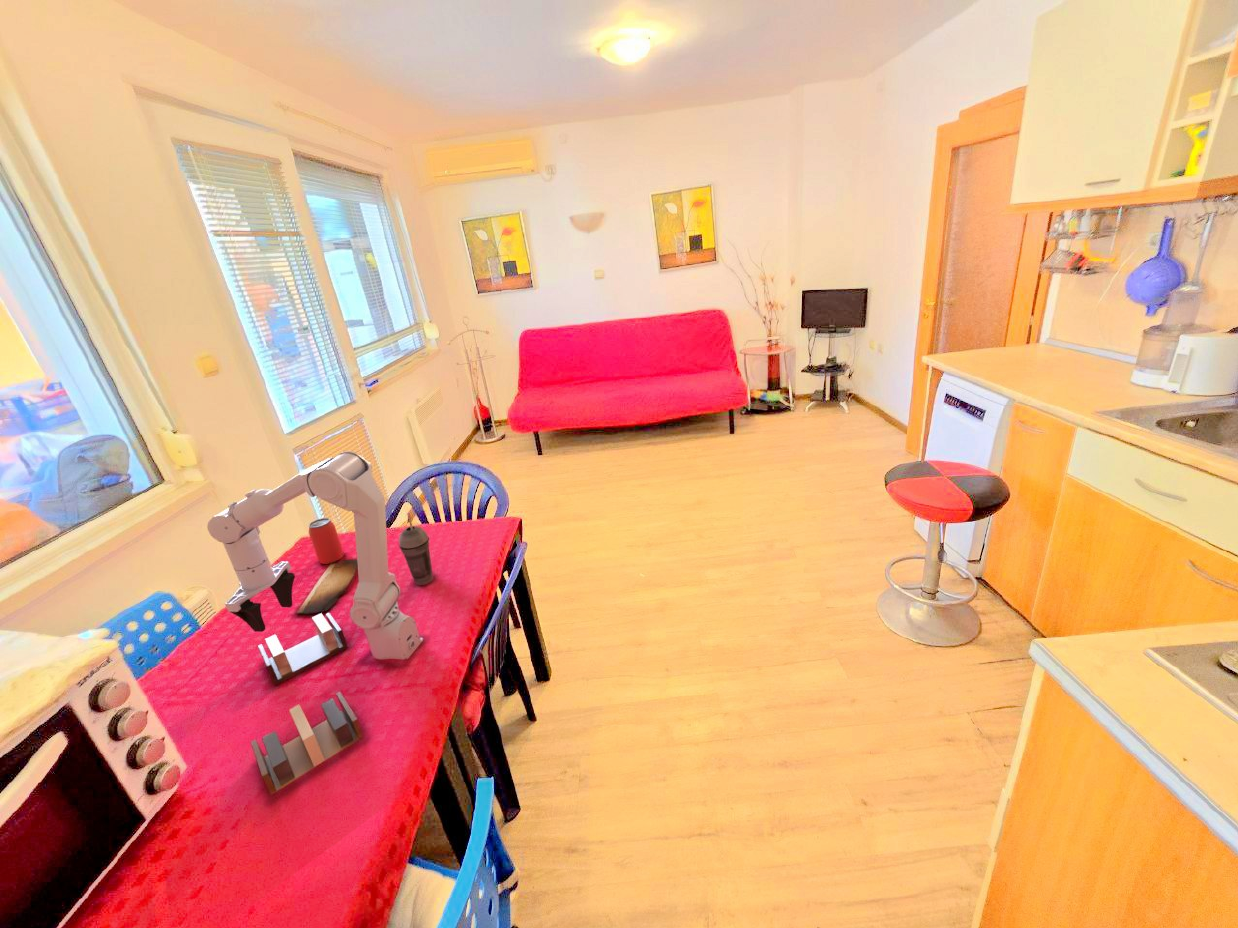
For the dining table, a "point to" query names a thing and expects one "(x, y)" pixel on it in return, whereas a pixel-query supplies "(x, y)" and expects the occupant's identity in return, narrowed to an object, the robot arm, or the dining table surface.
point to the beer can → (325, 541)
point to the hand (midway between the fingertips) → (274, 617)
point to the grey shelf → (293, 755)
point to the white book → (307, 735)
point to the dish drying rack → (304, 650)
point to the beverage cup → (417, 553)
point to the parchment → (329, 587)
